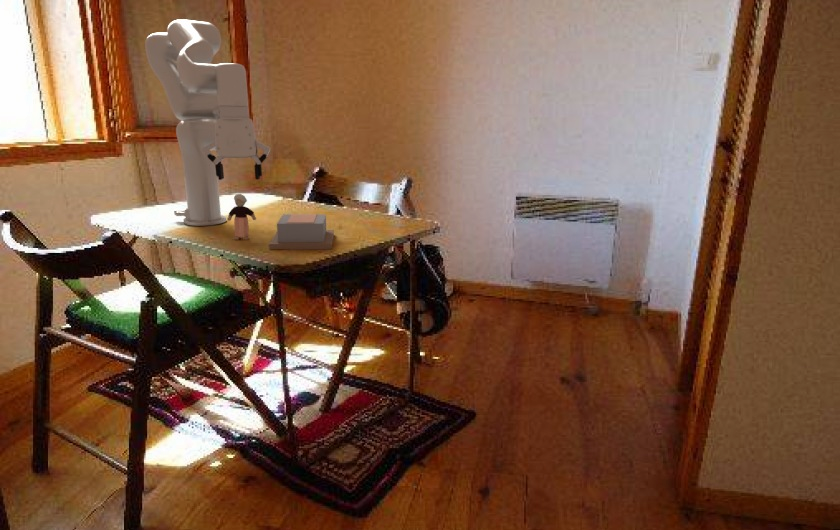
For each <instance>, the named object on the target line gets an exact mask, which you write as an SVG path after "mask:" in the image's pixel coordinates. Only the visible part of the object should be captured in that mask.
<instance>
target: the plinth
mask: <svg viewBox="0 0 840 530" xmlns="http://www.w3.org/2000/svg"><path fill="white" fill-rule="evenodd" d="M276 230H277V231H276V232H275V234H274V235H273V237H272V239H271V240H270V242H269V243H268V250H269V251H272V250H271V249H289V250H332V246H333V241H334V236H335V231H334V229H327V214H323V213H322V214H320V213H319V214H317V213H308V214H307V213H292V214H282V215H281V217H280V218H279V220H278V221H277V223H276Z"/></svg>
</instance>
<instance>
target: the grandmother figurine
mask: <svg viewBox="0 0 840 530" xmlns="http://www.w3.org/2000/svg"><path fill="white" fill-rule="evenodd" d="M233 201H234V202H235V203H234V204H235V205H236V206H234V207H232V209H231V210H230V212H228V217H226V221H229V222H230V221H231V220H232V218H233V217H234V220H233V221H234V222H233V223H234V225H233V226H234V228H233V229H234V232H233V233H234V236H233V237H232V240H233V241H236V240H237V241H238V240H246V241H247V240H248V241H249V240H250V236H249V232H250V228H249V226H250V225H249V220H248V216H250V217H251V218H252V219H251V220H253V221H256V220H257V217H256V215H255V212H254V211H253V210H252V209H250V208H249V207H247V206H245V204H246V203H247V202H248V199H247V198H246V196H245V195H244V194H242V193H237V194H235V195H234V197H233Z"/></svg>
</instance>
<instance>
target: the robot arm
mask: <svg viewBox="0 0 840 530" xmlns="http://www.w3.org/2000/svg"><path fill="white" fill-rule="evenodd" d="M221 46H222V36H221V33H220V30H219V28H217V26H216V25H214V24H213V23H211V22H208V21H198V20H191V19H176V20H173V21H171V22H170V23H169V24H168V26H167V28H166V32H154V33H151V34H150V35H148V36H147V37H146V39H145V43H144V48H145V49H144V50H145V54H146V58H147V61H148V65H149V67H150V68H151V70H152V71H153V73H154V75H155V76H156V78H157V79H158V80H159V82H160V84H161V85H162V87H163V90H164V93H165V95H166V98H167V101H168V104H169V106H170V109H171V110H172V113H173V115H174V117H175V118H176V119H178V120H179V122H178V124H177V125H176V128H175V133H176V139H177V142H178V145H179V150H180V154H181V159H182V161H181V162H182V167H183V168H182V169H183V175H184V176H183V177H184V185H185V195H186V197H185V198H186V205H187V207H185V208H184V209H181V208H179V209H178V208H177V209H174V211H173V212H174V215H175V216H176V217H184V218H183V224H185V225H187V226H194V227H195V226H196V227H197V226H198V227H199V226H200V227H202V226H203V227H204V226H205V227H207V226H215V225H220V224H223V223H226V222H227V217H226V216H225V215H222V213H221V202H220V191H219V189H220V188H219V181H221V180H224V179H225V173H224V165H223V163H222V161H223V160H224V159H225V158H227V159H231V158H232V159H237V158H238V159H242V158H243V159H248V158H251V159H252V160H253V161H254V162H255V164H254V165H253V166H254V176H255V177H254V178H255V180H260V179H261V177H262V176H263V171H262V163H263V162H265V160H266V159H267V158H268V155H270V154H269V153H270V152H271V149H272V148H271V147H270V146H268V145H266V144H264V143H262V142H260V141H258V140H257V135H256V131H255V126H254V122H253V119H252V118H250V109H249V96H248V83H247V81H248V80H247V72H246V68H245V66H244V65H243V64H240V63H234V62H233V63H229V62H222V63H217V64H216V63H215V64H214V63H212V62H213V59H214V56H215V55H216V54H217V53H218V52H219V50H220V49H221ZM258 148H259V149H261V150H263V153H262V155H261V156H259V155H258ZM212 151H215V154H216V156H215V155H214V154H213V152H212Z"/></svg>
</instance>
